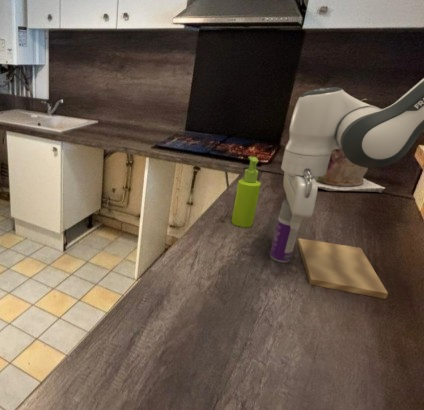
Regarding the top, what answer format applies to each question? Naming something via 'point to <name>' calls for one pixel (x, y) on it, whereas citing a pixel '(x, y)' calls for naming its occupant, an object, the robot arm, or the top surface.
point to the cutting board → (340, 268)
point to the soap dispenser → (246, 196)
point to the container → (283, 236)
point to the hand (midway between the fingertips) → (291, 219)
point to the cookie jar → (345, 174)
